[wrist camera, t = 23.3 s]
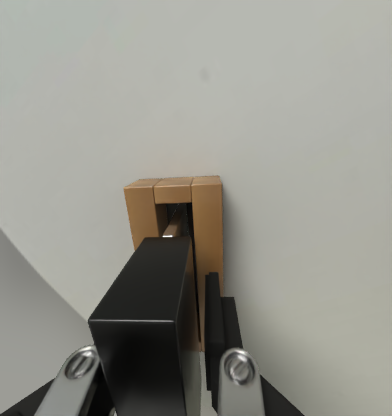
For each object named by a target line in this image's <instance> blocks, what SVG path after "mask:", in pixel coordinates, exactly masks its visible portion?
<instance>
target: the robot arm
mask: <svg viewBox="0 0 392 416" xmlns="http://www.w3.org/2000/svg"><path fill="white" fill-rule="evenodd" d="M204 349H205V366H206V383H207V391H211V395H212V407H213V408H214V410H215V411H216V412H217V414H218V416H304V415H303V414H302V413H301V412H300V411H299V410H298V409H297V408H296V407H295V406H294V405H292V404H291V403H290V402H289V401H288V400H287V399H286V398H285V397H284V396H283V395H282V394H281V393H279V392H278V391H277V390H276V389H275V388H274V387H273V386H272V385H271V384H270V383H269V382H268V381H266V380H265V379H264V378H263V377H262V376H261V375H260V373H259V368H258V364H257V362H256V360H255V359H254V357H253V356H252V355H251V354H250V353H249V352H247V351H246V350H244V349H243V346H242V340H241V335H240V329H239V323H238V317H237V312H236V306H235V300H234V297H221V296H220V284H219V273H218V272H209V275H205V317H204ZM114 413H115V407H114V404H113V401H112V398H111V395H110V391H109V388H108V385H107V382H106V379H105V375H104V372H103V369H102V366H101V363H100V360H99V356H98V353H97V350H96V347H95V344H94V345H88V346H84V347H82V348H80V349H78V350H76V351H75V352H74V353H72V354H71V355H70V356H69V358H67V360H66V361H65V363H64V364H63V365H62V367H61V369H60V371H59V373H58V374H57V376H56V378H54V379H53V380H51V381H50V382H48V383H47V384H45V385H44V386H42V387H41V388H39V389H38V390H36V391H35V392H33V393H32V394H30V395H29V396H27V397H26V398H24V399H23V400H21V401H20V402H18V403H17V404H15V405H14V406H12V407H11V408H9V409H8V410H6V411H5V412H3V413H2V414H0V416H114Z"/></svg>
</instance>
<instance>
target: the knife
mask: <svg viewBox="0 0 392 416" xmlns="http://www.w3.org/2000/svg"><path fill="white" fill-rule="evenodd" d="M88 324H89V328H90V331H91V334H92V337H93V340H94V344H95V347H96V350H97V353H98V356H99V360H100V363H101V366H102V369H103V372H104V375H105V379H106V382H107V385H108V388H109V391H110V395H111V398H112V401H113V404H114V407H115V411H116V413H117V416H200V410H201V368H200V353H199V339H198V325H197V311H196V296H195V282H194V268H193V254H192V240H191V236H189V230H188V216H187V203H179V204H178V206H177V208H176V210H175V212H174V214H173V216H172V218H171V220H170V222H169V224H168V226H167V228H166V230H165V232H164V234H163V236H162V237H145V238H144V239H143V240H142V242H141V243H140V245H139V246H138V248H137V249H136V250H135V252H134V253H133V255H132V256H131V258H130V259H129V261H128V262H127V264H126V265H125V266H124V268H123V269H122V271H121V272H120V274H119V275H118V277H117V278H116V280H115V281H114V282H113V284H112V285H111V287H110V288H109V290H108V291H107V293H106V294H105V296H104V297H103V298H102V300H101V301H100V303H99V304H98V306H97V307H96V309H95V310H94V312H93V313H92V314H91V316H90V317H89V319H88Z"/></svg>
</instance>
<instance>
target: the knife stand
mask: <svg viewBox="0 0 392 416" xmlns="http://www.w3.org/2000/svg"><path fill="white" fill-rule="evenodd" d="M124 194H125V200H126V205H127V211H128V216H129V222H130V227H131V233H132V238H133V244H134V250H136V249H137V248H138V246H139V245H140V243H141V242H142V240H143V239H144V238H145V237H162V236H163V234H164V232H165V230H166V228H167V226H168V219H167V210H166V204H170V203H191V202H192V208H193V224H194V239H195V255H196V270H197V286H198V301H199V313H197V325H198V339H199V352H201V351H202V352H205V349H204V317H205V275H209V272H218V273H219V284H220V296H221V297H223V213H222V182H221V180H220V177H219V176H203V177H182V178H164V179H162V178H160V179H140V180H138V181H136V182H134V183H132V184H130V185H128V186H126V187H124Z"/></svg>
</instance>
